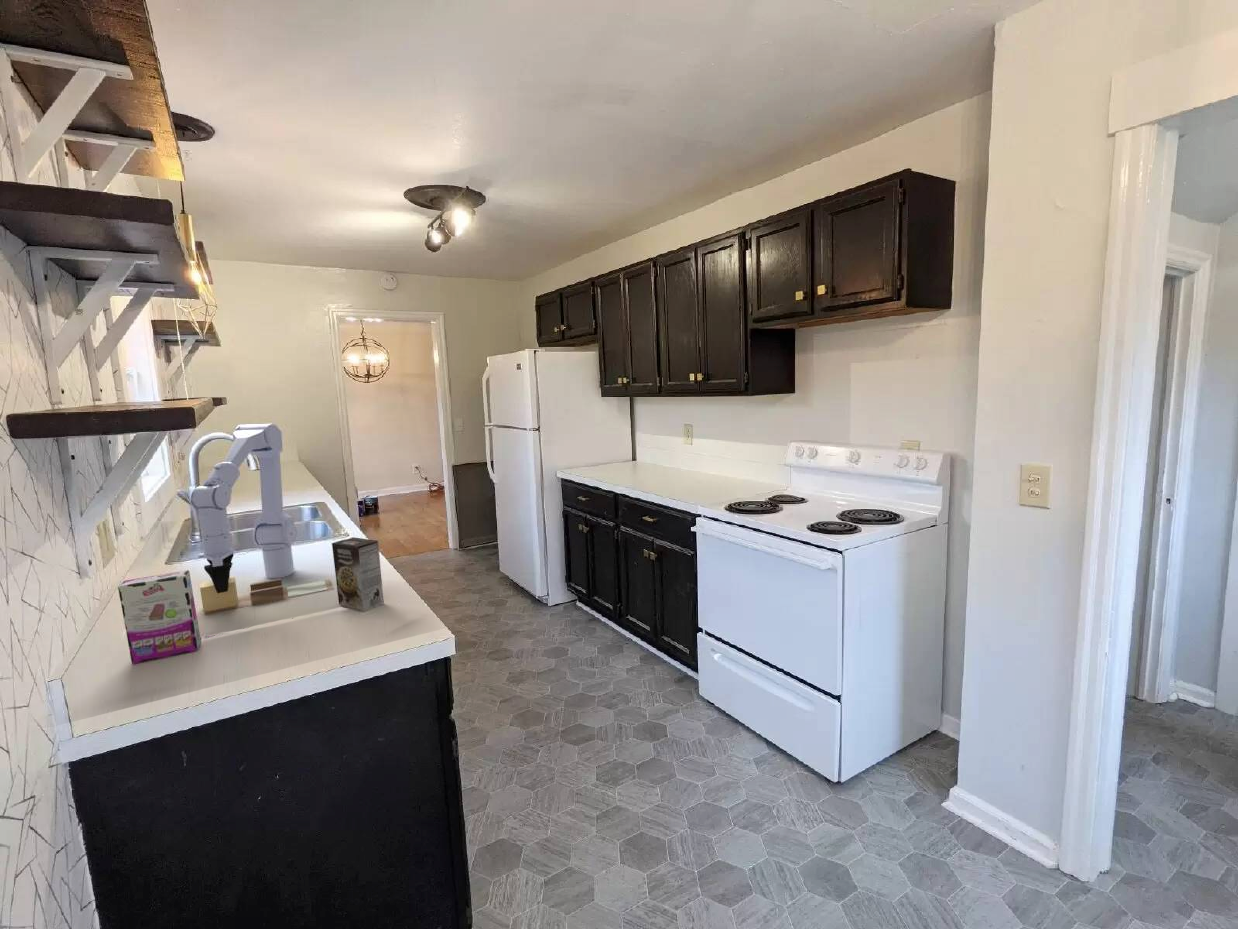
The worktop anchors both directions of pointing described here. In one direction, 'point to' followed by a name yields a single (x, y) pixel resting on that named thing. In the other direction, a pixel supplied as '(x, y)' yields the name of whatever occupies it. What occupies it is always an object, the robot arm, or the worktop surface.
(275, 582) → the pocket board
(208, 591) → the ochre block
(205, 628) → the worktop surface
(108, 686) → the worktop surface
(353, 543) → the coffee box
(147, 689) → the worktop surface
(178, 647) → the candy bar box
